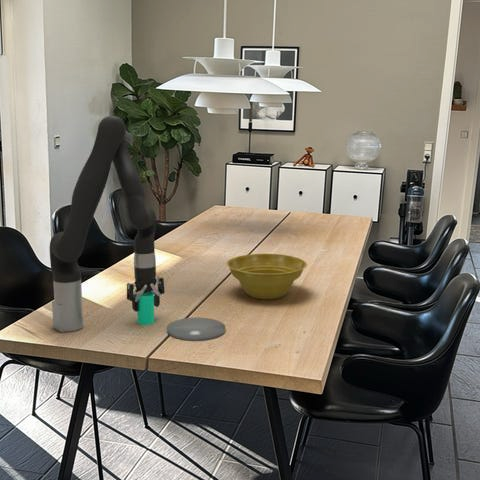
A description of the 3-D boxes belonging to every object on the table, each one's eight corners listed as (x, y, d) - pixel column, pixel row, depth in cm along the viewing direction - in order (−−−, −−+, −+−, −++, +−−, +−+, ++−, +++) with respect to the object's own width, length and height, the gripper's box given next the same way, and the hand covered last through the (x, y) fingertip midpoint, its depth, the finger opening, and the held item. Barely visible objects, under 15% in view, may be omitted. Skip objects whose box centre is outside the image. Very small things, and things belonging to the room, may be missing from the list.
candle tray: (189, 345, 217) (189, 341, 217) (155, 328, 232) (155, 325, 232) (237, 332, 229) (237, 328, 229) (202, 317, 244) (202, 313, 244)
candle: (146, 318, 243) (145, 286, 240) (158, 321, 239) (157, 289, 236) (133, 322, 238) (133, 289, 236) (145, 325, 234) (144, 293, 232)
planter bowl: (245, 311, 252) (246, 276, 249) (214, 288, 281) (214, 257, 278) (320, 301, 265) (321, 268, 262) (283, 280, 293) (283, 250, 290)
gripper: (133, 270, 227) (134, 315, 231) (167, 263, 236) (169, 307, 240) (121, 265, 233) (123, 310, 237) (156, 259, 242) (157, 302, 246)
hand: (146, 308), depth 238 cm, fingers open, 8 cm apart
